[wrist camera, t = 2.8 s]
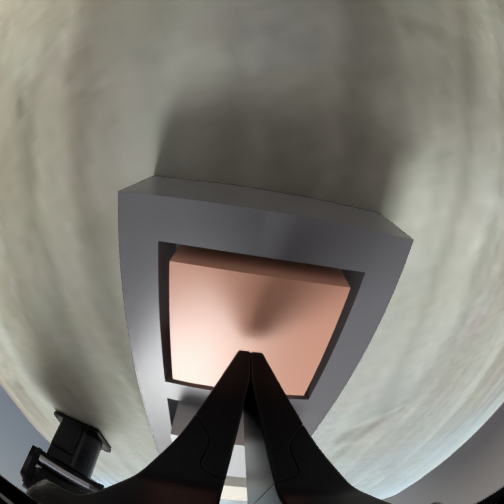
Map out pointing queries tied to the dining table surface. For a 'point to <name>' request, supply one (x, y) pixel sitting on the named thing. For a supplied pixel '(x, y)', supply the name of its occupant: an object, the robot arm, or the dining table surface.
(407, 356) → the dining table surface
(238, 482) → the cream key
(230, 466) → the grey key
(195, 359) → the terracotta key
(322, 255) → the frame
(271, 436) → the robot arm
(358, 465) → the dining table surface
